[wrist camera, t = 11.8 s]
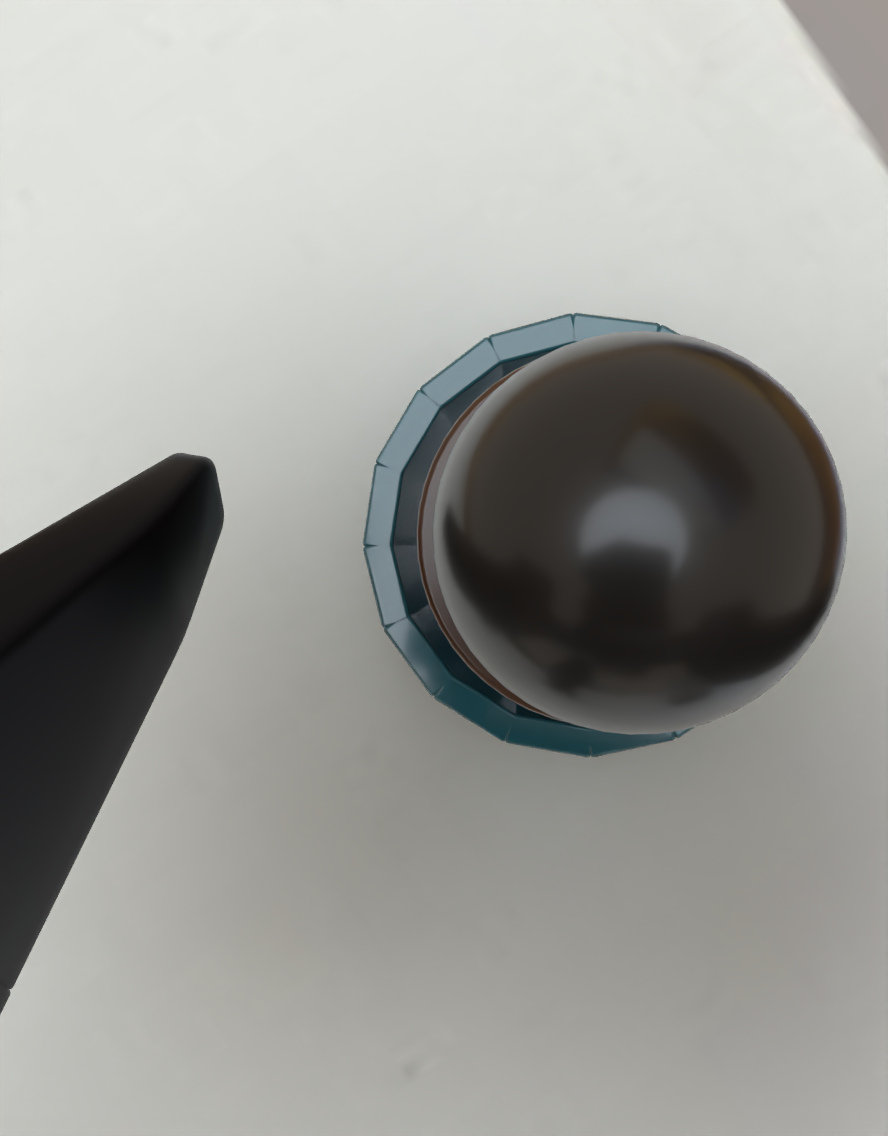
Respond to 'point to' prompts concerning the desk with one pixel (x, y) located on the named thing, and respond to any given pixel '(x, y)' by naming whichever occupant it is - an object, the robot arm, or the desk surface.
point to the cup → (396, 537)
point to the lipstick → (632, 533)
